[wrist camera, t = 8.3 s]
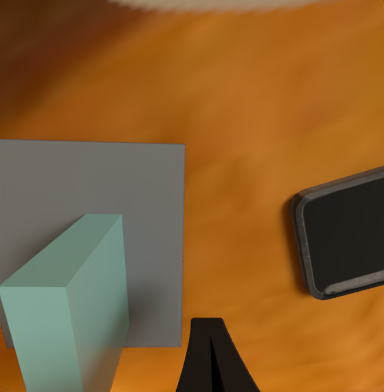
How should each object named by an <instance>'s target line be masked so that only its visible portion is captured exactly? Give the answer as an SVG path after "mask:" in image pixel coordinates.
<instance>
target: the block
mask: <svg viewBox="0 0 384 392" xmlns="http://www.w3.org/2000/svg"><path fill="white" fill-rule="evenodd" d="M0 296H1V300H2V304H3V307H4V311H5V315H6V318H7V322H8V325H9V329H10V333H11V336H12V340H13V344H14V347H15V351H16V354H17V358H18V362H19V365H20V369H21V373H22V376H23V380H24V383H25V387H26V391H27V392H110V390H111V386H112V383H113V380H114V376H115V373H116V369H117V366H118V362H119V359H120V355H121V352H122V349H123V345H124V342H125V338H126V335H127V331H128V328H129V311H128V297H127V282H126V268H125V254H124V240H123V226H122V214H85V215H84V216H83V217H82V218H80V219H79V220H78V221H77V222H76V223H74V224H73V225H72V226H71V227H69V228H68V229H67V230H66V231H65V232H63V233H62V234H61V235H60V236H59V237H57V238H56V239H55V240H54V241H53V242H51V243H50V244H49V245H48V246H47V247H45V248H44V249H43V250H42V251H41V252H39V253H38V254H37V255H36V256H34V257H33V258H32V259H31V260H30V261H28V262H27V263H26V264H25V265H24V266H22V267H21V268H20V269H19V270H18V271H16V272H15V273H14V274H13V275H12V276H10V277H9V278H8V279H7V280H6V281H4V282H3V283H2V284H1V285H0Z"/></svg>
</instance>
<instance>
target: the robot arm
mask: <svg viewBox="0 0 384 392" xmlns="http://www.w3.org/2000/svg"><path fill="white" fill-rule="evenodd" d="M176 392H260V390H259V389H258V387H257V385H256V384H255V382H254V380H253V379H252V377H251V375H250V374H249V372H248V370H247V368H246V366H245V364H244V363H243V361H242V359H241V357H240V355H239V353H238V351H237V350H236V348H235V346H234V343H233V341H232V339H231V337H230V335H229V333H228V331H227V328H226V326H225V324H224V321H223V319H222V318H193V319H191V330H190V338H189V343H188V348H187V353H186V357H185V361H184V365H183V369H182V373H181V376H180V379H179V382H178V386H177V389H176Z"/></svg>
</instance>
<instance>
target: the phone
mask: <svg viewBox="0 0 384 392" xmlns="http://www.w3.org/2000/svg"><path fill="white" fill-rule="evenodd" d="M290 214H291V220H292V225H293V231H294V236H295V241H296V247H297V252H298V257H299V263H300V268H301V274H302V279H303V283H304V286H305V287H306V289H307V290H308V291H309V293H310V294H311V295H312V296H313V297H314V298H316V299H319V300H328V299H332V298H336V297H340V296H343V295H347V294H351V293H355V292H359V291H362V290H366V289H370V288H374V287H378V286H381V285H384V166H382V167H378V168H375V169H371V170H368V171H365V172H361V173H358V174H355V175H351V176H348V177H345V178H341V179H338V180H334V181H331V182H328V183H324V184H321V185H318V186H314V187H311V188H307V189H305V190H302V191H300V192H299V193H298V194H297V195H295V197H294V198H293V200H292V202H291V205H290ZM293 221H294V223H293Z"/></svg>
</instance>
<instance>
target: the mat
mask: <svg viewBox="0 0 384 392" xmlns="http://www.w3.org/2000/svg"><path fill="white" fill-rule="evenodd" d="M184 164H185V144H164V143H127V142H91V141H54V140H18V139H0V285H1V284H2V283H3V282H4V281H6V280H7V279H8V278H9V277H10V276H12V275H13V274H14V273H15V272H16V271H18V270H19V269H20V268H21V267H22V266H24V265H25V264H26V263H27V262H28V261H30V260H31V259H32V258H33V257H34V256H36V255H37V254H38V253H39V252H41V251H42V250H43V249H44V248H45V247H47V246H48V245H49V244H50V243H51V242H53V241H54V240H55V239H56V238H57V237H59V236H60V235H61V234H62V233H63V232H65V231H66V230H67V229H68V228H69V227H71V226H72V225H73V224H74V223H76V222H77V221H78V220H79V219H80V218H82V217H83V216H84V215H85V214H122V226H123V240H124V254H125V268H126V282H127V297H128V311H129V328H128V331H127V335H126V338H125V342H124V345H123V347H181V329H182V274H183V219H184ZM0 325H1V328H2V332H3V335H4V339H5V342H6V346H7V348H15V347H14V344H13V340H12V336H11V333H10V329H9V325H8V322H7V318H6V315H5V311H4V307H3V304H2V300H1V296H0Z"/></svg>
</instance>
